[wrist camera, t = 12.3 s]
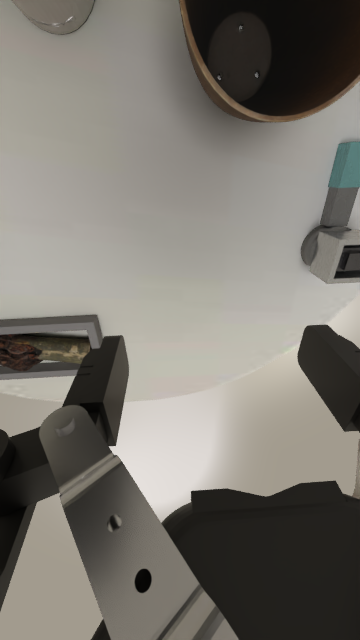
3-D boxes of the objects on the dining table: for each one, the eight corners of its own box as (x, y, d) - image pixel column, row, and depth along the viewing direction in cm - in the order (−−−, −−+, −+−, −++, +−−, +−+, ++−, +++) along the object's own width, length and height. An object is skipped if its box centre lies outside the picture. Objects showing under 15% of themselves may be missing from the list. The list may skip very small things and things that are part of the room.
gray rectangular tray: (-34, 321, 43) (-44, 329, 41) (96, 314, 44) (93, 322, 42) (-5, 371, 50) (-13, 380, 48) (109, 365, 50) (106, 373, 48)
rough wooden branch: (94, 334, 47) (86, 354, 42) (94, 361, 50) (87, 381, 45) (-7, 323, 44) (-28, 342, 39) (1, 352, 48) (-17, 373, 43)
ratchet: (324, 144, 32) (367, 137, 26) (376, 142, 33) (432, 135, 26) (296, 268, 41) (322, 287, 34) (337, 266, 41) (371, 284, 35)
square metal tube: (319, 231, 35) (340, 240, 31) (360, 229, 35) (386, 237, 31) (309, 271, 38) (327, 283, 34) (346, 269, 39) (368, 281, 34)
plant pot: (169, 139, 31) (172, 115, 18) (172, -53, 23) (181, -360, 10) (283, 145, 32) (369, 127, 19) (321, -37, 24) (518, -297, 11)
